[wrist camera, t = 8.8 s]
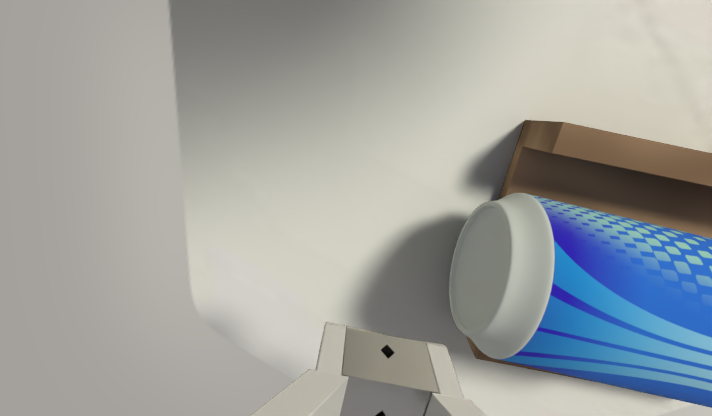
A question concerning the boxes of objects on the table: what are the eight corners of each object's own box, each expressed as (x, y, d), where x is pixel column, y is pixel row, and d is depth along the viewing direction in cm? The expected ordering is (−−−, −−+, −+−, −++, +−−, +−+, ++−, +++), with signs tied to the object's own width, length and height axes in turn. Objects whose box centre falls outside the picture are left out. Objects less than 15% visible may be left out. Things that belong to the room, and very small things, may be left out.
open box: (525, 120, 20) (563, 122, 16) (835, 185, 20) (945, 203, 16) (458, 318, 24) (475, 358, 20) (718, 369, 24) (784, 418, 20)
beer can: (467, 395, 14) (804, 469, 15) (550, 226, 12) (966, 325, 12) (434, 286, 22) (656, 337, 23) (479, 169, 19) (732, 230, 20)
